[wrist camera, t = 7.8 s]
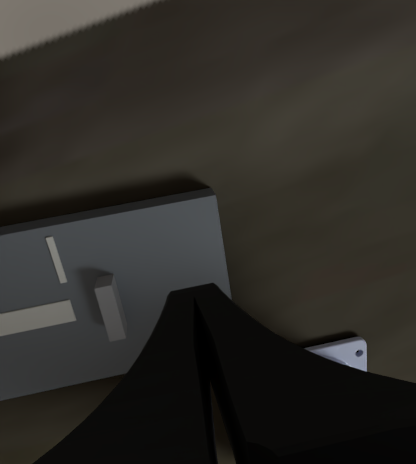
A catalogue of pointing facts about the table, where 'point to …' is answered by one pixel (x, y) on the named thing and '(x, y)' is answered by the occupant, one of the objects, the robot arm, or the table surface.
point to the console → (98, 286)
